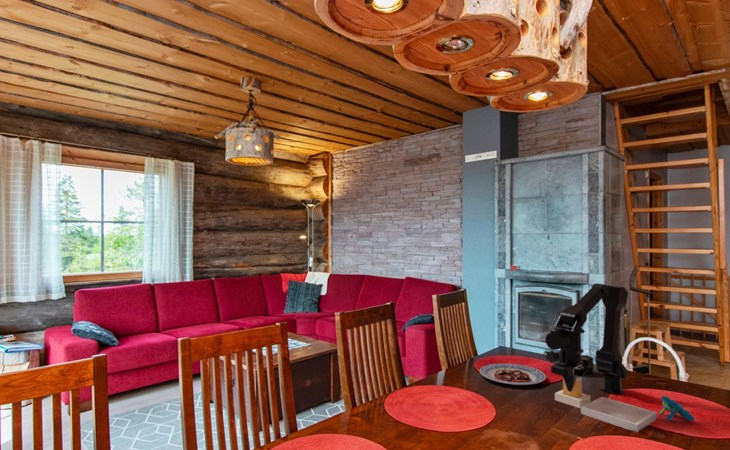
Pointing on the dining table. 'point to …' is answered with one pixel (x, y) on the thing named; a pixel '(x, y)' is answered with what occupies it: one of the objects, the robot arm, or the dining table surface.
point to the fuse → (574, 388)
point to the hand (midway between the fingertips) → (572, 390)
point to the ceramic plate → (512, 374)
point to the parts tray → (619, 414)
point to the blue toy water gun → (675, 409)
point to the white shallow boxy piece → (572, 399)
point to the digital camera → (589, 370)
